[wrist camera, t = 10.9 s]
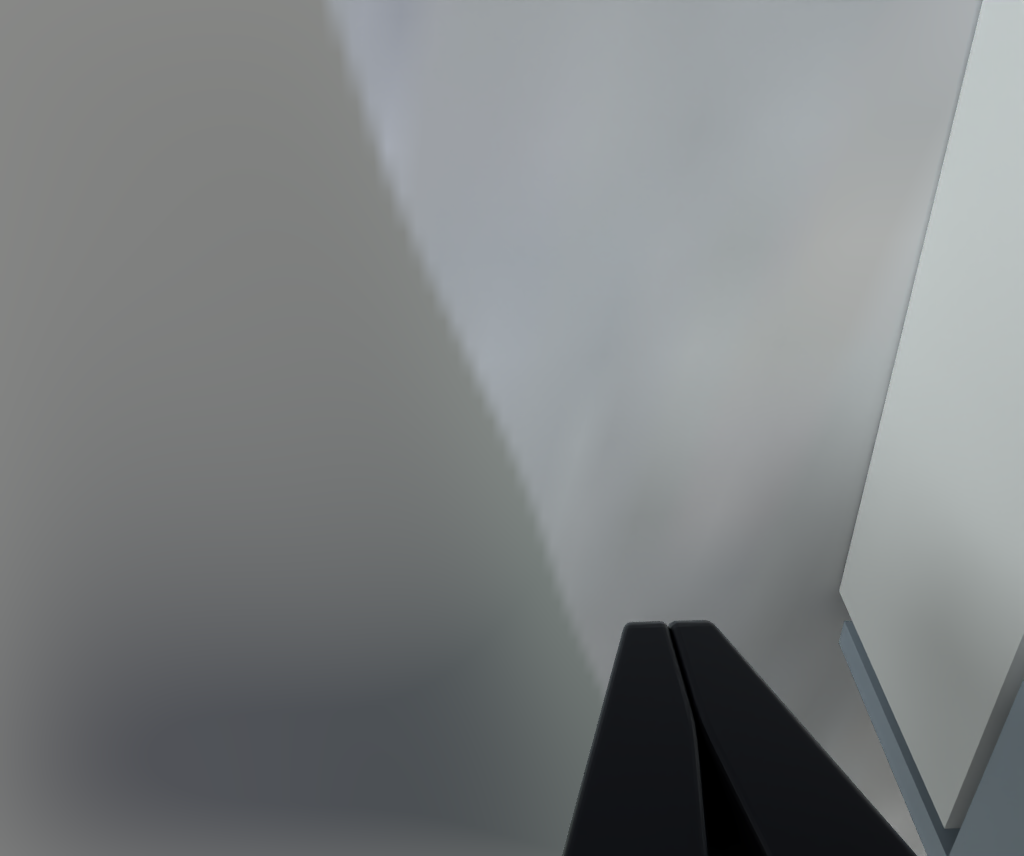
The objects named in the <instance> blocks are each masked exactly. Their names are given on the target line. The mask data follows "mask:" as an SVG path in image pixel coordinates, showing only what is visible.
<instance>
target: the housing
mask: <svg viewBox="0 0 1024 856" xmlns="http://www.w3.org/2000/svg"><path fill="white" fill-rule="evenodd" d="M839 592H840V594H841V597H842V599H843V601H844V603H845V606H846V608H847V610H848V613H849V615H850V617H851V619H852V622H853V624H854V626H855V628H856V631H857V633H858V635H859V637H860V640H861V642H862V644H863V646H864V649H865V651H866V653H867V655H868V658H869V660H870V662H871V664H872V667H873V669H874V671H875V673H876V676H877V678H878V680H879V682H880V685H881V687H882V689H883V691H884V694H885V696H886V698H887V700H888V703H889V705H890V707H891V709H892V712H893V714H894V716H895V718H896V721H897V723H898V725H899V727H900V730H901V732H902V734H903V736H904V739H905V741H906V743H907V745H908V748H909V750H910V752H911V754H912V757H913V759H914V761H915V763H916V766H917V768H918V770H919V772H920V775H921V777H922V779H923V781H924V784H925V786H926V788H927V790H928V793H929V795H930V797H931V799H932V802H933V804H934V806H935V808H936V811H937V813H938V815H939V817H940V820H941V822H942V824H943V826H944V829H949V828H961V826H962V824H963V821H964V819H965V817H966V814H967V812H968V809H969V807H970V805H971V802H972V800H973V798H974V795H975V793H976V790H977V788H978V786H979V783H980V781H981V779H982V776H983V774H984V771H985V769H986V767H987V764H988V762H989V760H990V757H991V755H992V753H993V750H994V748H995V745H996V743H997V741H998V738H999V736H1000V734H1001V731H1002V729H1003V726H1004V724H1005V722H1006V719H1007V717H1008V715H1009V712H1010V710H1011V707H1012V705H1013V703H1014V700H1015V698H1016V696H1017V693H1018V691H1019V688H1020V686H1021V684H1022V681H1023V679H1024V0H983V2H982V6H981V10H980V14H979V18H978V23H977V27H976V31H975V35H974V39H973V43H972V47H971V51H970V55H969V60H968V64H967V68H966V72H965V76H964V80H963V84H962V88H961V92H960V97H959V101H958V105H957V109H956V113H955V117H954V121H953V125H952V129H951V134H950V138H949V142H948V146H947V150H946V154H945V158H944V162H943V166H942V171H941V175H940V179H939V183H938V187H937V191H936V195H935V199H934V203H933V208H932V212H931V216H930V220H929V224H928V228H927V232H926V236H925V240H924V244H923V249H922V253H921V257H920V261H919V265H918V269H917V273H916V277H915V281H914V286H913V290H912V294H911V298H910V302H909V306H908V310H907V314H906V318H905V323H904V327H903V331H902V335H901V339H900V343H899V347H898V351H897V355H896V360H895V364H894V368H893V372H892V376H891V380H890V384H889V388H888V392H887V397H886V401H885V405H884V409H883V413H882V417H881V421H880V425H879V429H878V434H877V438H876V442H875V446H874V450H873V454H872V458H871V462H870V466H869V471H868V475H867V479H866V483H865V487H864V491H863V495H862V499H861V503H860V508H859V512H858V516H857V520H856V524H855V528H854V532H853V536H852V540H851V545H850V549H849V553H848V557H847V561H846V565H845V569H844V573H843V577H842V582H841V586H840V590H839Z"/></svg>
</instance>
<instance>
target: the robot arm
mask: <svg viewBox="0 0 1024 856" xmlns="http://www.w3.org/2000/svg"><path fill="white" fill-rule="evenodd" d="M562 856H917V855H916V854H915V853H914V852H913V851H912V849H911V848H910V847H909V846H908V845H907V844H906V843H905V841H904V840H903V839H902V838H901V837H900V836H899V835H898V833H897V832H896V831H895V830H894V829H893V828H892V827H891V825H890V824H889V823H888V822H887V821H886V820H885V819H884V817H883V816H882V815H881V814H880V813H879V812H878V811H877V809H876V808H875V807H874V806H873V805H872V804H871V803H870V801H869V800H868V799H867V798H866V797H865V796H864V795H863V793H862V792H861V791H860V790H859V789H858V788H857V787H856V785H855V784H854V783H853V782H852V781H851V780H850V779H849V777H848V776H847V775H846V774H845V773H844V772H843V771H842V769H841V768H840V767H839V766H838V765H837V764H836V763H835V761H834V760H833V759H832V758H831V757H830V756H829V755H828V753H827V752H826V751H825V750H824V749H823V748H822V747H821V745H820V744H819V743H818V742H817V741H816V740H815V739H814V737H813V736H812V735H811V734H810V733H809V732H808V731H807V729H806V728H805V727H804V726H803V725H802V724H801V723H800V722H799V720H798V719H797V718H796V717H795V716H794V715H793V714H792V712H791V711H790V710H789V709H788V708H787V707H786V706H785V704H784V703H783V702H782V701H781V700H780V699H779V698H778V696H777V695H776V694H775V693H774V692H773V691H772V690H771V688H770V687H769V686H768V685H767V684H766V683H765V682H764V680H763V679H762V678H761V677H760V676H759V675H758V674H757V672H756V671H755V670H754V669H753V668H752V667H751V666H750V664H749V663H748V662H747V661H746V660H745V659H744V658H743V656H742V655H741V654H740V653H739V652H738V651H737V650H736V648H735V647H734V646H733V645H732V644H731V643H730V642H729V640H728V639H727V638H726V637H725V636H724V635H723V634H722V632H721V631H720V630H719V629H718V628H717V627H716V626H715V625H714V624H713V623H711V622H710V621H707V620H693V621H674V622H672V623H670V624H669V626H667V625H666V624H665V623H664V622H660V621H655V622H630V623H627V624H626V625H625V627H624V629H623V632H622V636H621V639H620V643H619V647H618V650H617V654H616V658H615V661H614V665H613V669H612V673H611V676H610V680H609V684H608V687H607V691H606V695H605V698H604V702H603V706H602V710H601V714H600V717H599V721H598V724H597V728H596V732H595V736H594V739H593V743H592V746H591V750H590V754H589V758H588V761H587V765H586V769H585V772H584V776H583V780H582V783H581V787H580V791H579V795H578V798H577V802H576V806H575V809H574V813H573V817H572V820H571V824H570V828H569V831H568V835H567V839H566V843H565V847H564V850H563V854H562Z"/></svg>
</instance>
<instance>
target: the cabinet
mask: <svg viewBox="0 0 1024 856" xmlns="http://www.w3.org/2000/svg"><path fill="white" fill-rule="evenodd" d="M839 644H840V647H841V649H842V652H843V654H844V656H845V659H846V661H847V664H848V666H849V668H850V671H851V673H852V676H853V678H854V680H855V683H856V685H857V688H858V690H859V692H860V695H861V697H862V700H863V702H864V704H865V707H866V709H867V712H868V714H869V716H870V719H871V721H872V724H873V726H874V728H875V731H876V733H877V736H878V738H879V740H880V743H881V745H882V748H883V750H884V752H885V755H886V757H887V760H888V762H889V764H890V767H891V769H892V772H893V774H894V776H895V779H896V781H897V784H898V786H899V788H900V791H901V793H902V796H903V798H904V800H905V803H906V805H907V808H908V810H909V812H910V815H911V817H912V820H913V822H914V824H915V827H916V829H917V832H918V834H919V836H920V839H921V841H922V844H923V846H924V848H925V851H926V853H927V856H1024V679H1023V681H1022V684H1021V686H1020V688H1019V691H1018V693H1017V696H1016V698H1015V700H1014V703H1013V705H1012V707H1011V710H1010V712H1009V715H1008V717H1007V719H1006V722H1005V724H1004V726H1003V729H1002V731H1001V734H1000V736H999V738H998V741H997V743H996V745H995V748H994V750H993V753H992V755H991V757H990V760H989V762H988V764H987V767H986V769H985V771H984V774H983V776H982V779H981V781H980V783H979V786H978V788H977V790H976V793H975V795H974V798H973V800H972V802H971V805H970V807H969V809H968V812H967V814H966V817H965V819H964V821H963V824H962V826H961V828H949V829H944V826H943V824H942V822H941V820H940V817H939V815H938V813H937V811H936V808H935V806H934V804H933V802H932V799H931V797H930V795H929V793H928V790H927V788H926V786H925V784H924V781H923V779H922V777H921V775H920V772H919V770H918V768H917V766H916V763H915V761H914V759H913V757H912V754H911V752H910V750H909V748H908V745H907V743H906V741H905V739H904V736H903V734H902V732H901V730H900V727H899V725H898V723H897V721H896V718H895V716H894V714H893V712H892V709H891V707H890V705H889V703H888V700H887V698H886V696H885V694H884V691H883V689H882V687H881V685H880V682H879V680H878V678H877V676H876V673H875V671H874V669H873V667H872V664H871V662H870V660H869V658H868V655H867V653H866V651H865V649H864V646H863V644H862V642H861V640H860V637H859V635H858V633H857V631H856V628H855V626H854V624H853V622H852V621H844V624H843V628H842V632H841V636H840V640H839Z"/></svg>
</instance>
